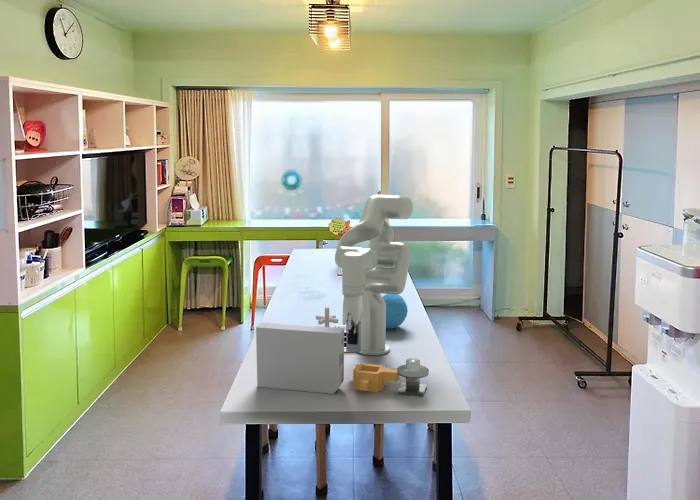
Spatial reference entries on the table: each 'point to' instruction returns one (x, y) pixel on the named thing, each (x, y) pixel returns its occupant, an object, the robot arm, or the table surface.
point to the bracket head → (372, 377)
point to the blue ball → (395, 310)
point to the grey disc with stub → (412, 378)
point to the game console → (300, 357)
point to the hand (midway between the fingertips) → (353, 341)
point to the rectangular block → (357, 347)
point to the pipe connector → (326, 318)
